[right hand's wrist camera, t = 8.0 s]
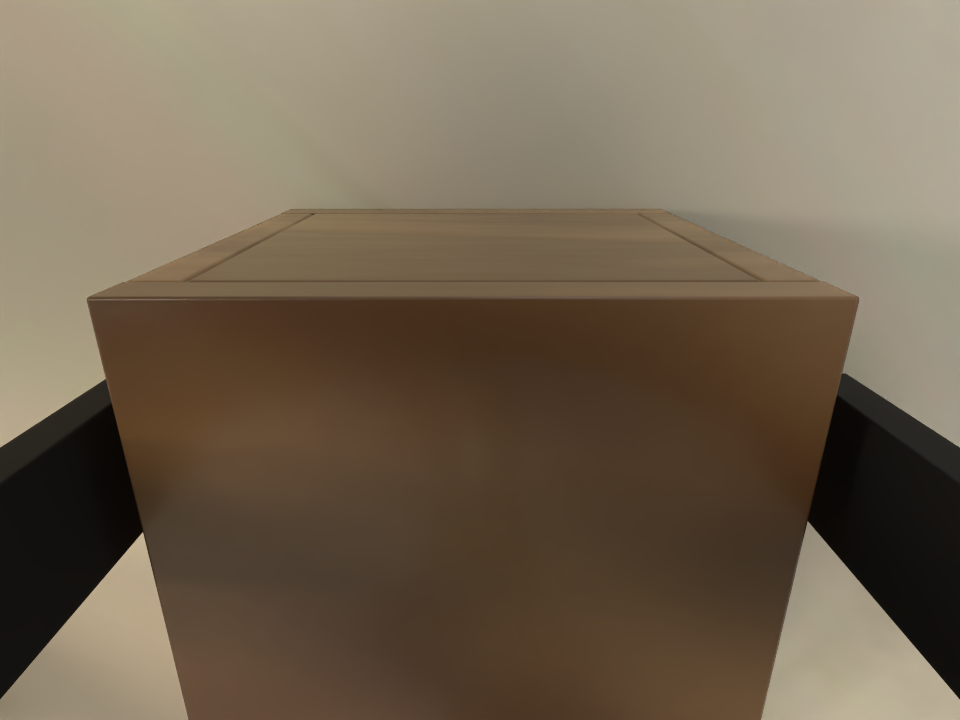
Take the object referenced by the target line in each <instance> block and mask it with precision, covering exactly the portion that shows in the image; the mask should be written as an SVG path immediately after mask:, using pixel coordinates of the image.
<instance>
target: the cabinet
mask: <svg viewBox="0 0 960 720" xmlns="http://www.w3.org/2000/svg"><path fill="white" fill-rule="evenodd" d="M87 303H88V307H89V311H90V315H91V319H92V323H93V327H94V331H95V336H96V340H97V344H98V348H99V352H100V356H101V360H102V364H103V369H104V373H105V377H106V381H107V385H108V389H109V393H110V397H111V401H112V406H113V410H114V414H115V418H116V422H117V426H118V430H119V434H120V439H121V443H122V447H123V451H124V455H125V459H126V463H127V467H128V472H129V476H130V480H131V484H132V488H133V492H134V496H135V500H136V504H137V509H138V513H139V517H140V521H141V525H142V529H143V533H144V537H145V542H146V546H147V550H148V554H149V558H150V562H151V566H152V570H153V575H154V579H155V583H156V587H157V591H158V595H159V599H160V603H161V607H162V612H163V616H164V620H165V624H166V628H167V632H168V636H169V640H170V645H171V649H172V653H173V657H174V661H175V665H176V669H177V673H178V678H179V682H180V686H181V690H182V694H183V698H184V702H185V706H186V710H187V715H188V719H189V720H761V717H762V713H763V708H764V704H765V700H766V696H767V691H768V687H769V683H770V679H771V674H772V670H773V666H774V661H775V657H776V653H777V649H778V644H779V640H780V636H781V632H782V627H783V623H784V619H785V614H786V610H787V606H788V602H789V597H790V593H791V589H792V585H793V580H794V576H795V572H796V567H797V563H798V559H799V555H800V550H801V546H802V542H803V538H804V533H805V529H806V525H807V520H808V516H809V512H810V508H811V503H812V499H813V495H814V491H815V486H816V482H817V478H818V474H819V469H820V465H821V461H822V456H823V452H824V448H825V444H826V439H827V435H828V431H829V427H830V422H831V418H832V414H833V409H834V405H835V401H836V397H837V392H838V388H839V384H840V380H841V375H842V371H843V367H844V362H845V358H846V354H847V350H848V345H849V341H850V337H851V333H852V328H853V324H854V320H855V315H856V311H857V307H858V303H859V297H857V296H855V295H853V294H850V293H848V292H846V291H844V290H841V289H839V288H837V287H835V286H832V285H830V284H828V283H826V282H821V281H819V280H817V279H815V278H812V277H810V276H808V275H806V274H803V273H801V272H799V271H797V270H795V269H792V268H790V267H788V266H786V265H783V264H781V263H779V262H777V261H775V260H772V259H770V258H768V257H766V256H763V255H761V254H759V253H757V252H754V251H752V250H750V249H748V248H746V247H743V246H741V245H739V244H737V243H734V242H732V241H730V240H728V239H726V238H723V237H721V236H719V235H717V234H714V233H712V232H710V231H708V230H706V229H703V228H701V227H699V226H697V225H694V224H692V223H690V222H688V221H685V220H683V219H681V218H679V217H677V216H674V215H672V214H671V213H669V212H667V211H664V210H662V209H291V210H288V211H286V212H284V213H281V214H280V215H278V216H276V217H274V218H271V219H269V220H267V221H264V222H262V223H260V224H258V225H255V226H253V227H251V228H248V229H246V230H244V231H241V232H239V233H237V234H235V235H232V236H230V237H228V238H225V239H223V240H221V241H219V242H216V243H214V244H212V245H209V246H207V247H205V248H203V249H200V250H198V251H196V252H193V253H191V254H189V255H187V256H184V257H182V258H180V259H177V260H175V261H173V262H170V263H168V264H166V265H164V266H161V267H159V268H157V269H154V270H152V271H150V272H148V273H145V274H143V275H141V276H138V277H136V278H134V279H132V280H129V281H127V282H122V283H120V284H117V285H115V286H113V287H110V288H108V289H106V290H104V291H101V292H99V293H97V294H94V295H92V296H90V297H88V298H87Z"/></svg>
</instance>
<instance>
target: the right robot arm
mask: <svg viewBox="0 0 960 720" xmlns="http://www.w3.org/2000/svg"><path fill="white" fill-rule="evenodd" d="M808 522H809V523H810V524H811V525H812V526H813V528H814V529H815V530H816V531H817V532H818V533H819V535H820V536H821V537H822V538H823V539H824V540H825V542H826V543H827V544H828V545H829V546H830V547H831V549H832V550H833V551H834V552H835V553H836V555H837V556H838V557H839V558H840V559H841V560H842V562H843V563H844V564H845V565H846V566H847V567H848V569H849V570H850V571H851V572H852V573H853V574H854V576H855V577H856V578H857V579H858V580H859V582H860V583H861V584H862V585H863V586H864V587H865V589H866V590H867V591H868V592H869V593H870V594H871V596H872V597H873V598H874V599H875V600H876V601H877V603H878V604H879V605H880V606H881V607H882V609H883V610H884V611H885V612H886V613H887V614H888V616H889V617H890V618H891V619H892V620H893V621H894V623H895V624H896V625H897V626H898V627H899V628H900V630H901V631H902V632H903V633H904V634H905V636H906V637H907V638H908V639H909V640H910V641H911V643H912V644H913V645H914V646H915V647H916V648H917V650H918V651H919V652H920V653H921V654H922V655H923V657H924V658H925V659H926V660H927V661H928V663H929V664H930V665H931V666H932V667H933V668H934V670H935V671H936V672H937V673H938V674H939V675H940V677H941V678H942V679H943V680H944V681H945V682H946V684H947V685H948V686H949V687H950V688H951V690H952V691H953V692H954V693H955V694H956V695H957V697H958V698H959V699H960V448H959V447H958V446H956V445H955V444H953V443H952V442H950V441H949V440H947V439H946V438H944V437H942V436H941V435H939V434H938V433H936V432H935V431H933V430H932V429H930V428H929V427H927V426H926V425H924V424H922V423H921V422H919V421H918V420H916V419H915V418H913V417H912V416H910V415H909V414H907V413H906V412H904V411H902V410H901V409H899V408H898V407H896V406H895V405H893V404H892V403H890V402H889V401H887V400H886V399H884V398H882V397H881V396H879V395H878V394H876V393H875V392H873V391H872V390H870V389H869V388H867V387H865V386H864V385H862V384H861V383H859V382H858V381H856V380H855V379H853V378H852V377H850V376H849V375H847V374H842V375H841V380H840V384H839V388H838V392H837V397H836V401H835V405H834V409H833V414H832V418H831V422H830V427H829V431H828V435H827V439H826V444H825V448H824V452H823V456H822V461H821V465H820V469H819V474H818V478H817V482H816V486H815V491H814V495H813V499H812V503H811V508H810V512H809V516H808ZM142 532H143V529H142V525H141V521H140V517H139V513H138V509H137V504H136V500H135V496H134V492H133V488H132V484H131V480H130V476H129V472H128V467H127V463H126V459H125V455H124V451H123V447H122V443H121V439H120V434H119V430H118V426H117V422H116V418H115V414H114V410H113V406H112V401H111V397H110V393H109V389H108V385H107V381H106V379H105V380H104V381H102V382H101V383H99V384H98V385H96V386H95V387H93V388H91V389H90V390H88V391H87V392H85V393H84V394H82V395H81V396H79V397H78V398H76V399H74V400H73V401H71V402H70V403H68V404H67V405H65V406H64V407H62V408H61V409H59V410H58V411H56V412H54V413H53V414H51V415H50V416H48V417H47V418H45V419H44V420H42V421H41V422H39V423H38V424H36V425H34V426H33V427H31V428H30V429H28V430H27V431H25V432H24V433H22V434H21V435H19V436H18V437H16V438H14V439H13V440H11V441H10V442H8V443H7V444H5V445H4V446H2V447H1V448H0V699H1V698H2V697H3V695H4V694H5V693H6V692H7V691H8V689H9V688H10V687H11V686H12V685H13V684H14V682H15V681H16V680H17V679H18V678H19V677H20V675H21V674H22V673H23V672H24V671H25V670H26V668H27V667H28V666H29V665H30V664H31V663H32V661H33V660H34V659H35V658H36V657H37V655H38V654H39V653H40V652H41V651H42V650H43V648H44V647H45V646H46V645H47V644H48V643H49V641H50V640H51V639H52V638H53V637H54V636H55V634H56V633H57V632H58V631H59V630H60V628H61V627H62V626H63V625H64V624H65V623H66V621H67V620H68V619H69V618H70V617H71V616H72V614H73V613H74V612H75V611H76V610H77V609H78V607H79V606H80V605H81V604H82V603H83V601H84V600H85V599H86V598H87V597H88V596H89V594H90V593H91V592H92V591H93V590H94V589H95V587H96V586H97V585H98V584H99V583H100V582H101V580H102V579H103V578H104V577H105V576H106V574H107V573H108V572H109V571H110V570H111V569H112V567H113V566H114V565H115V564H116V563H117V562H118V560H119V559H120V558H121V557H122V556H123V555H124V553H125V552H126V551H127V550H128V549H129V547H130V546H131V545H132V544H133V543H134V542H135V540H136V539H137V538H138V537H139V536H140V535H141V533H142Z"/></svg>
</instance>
